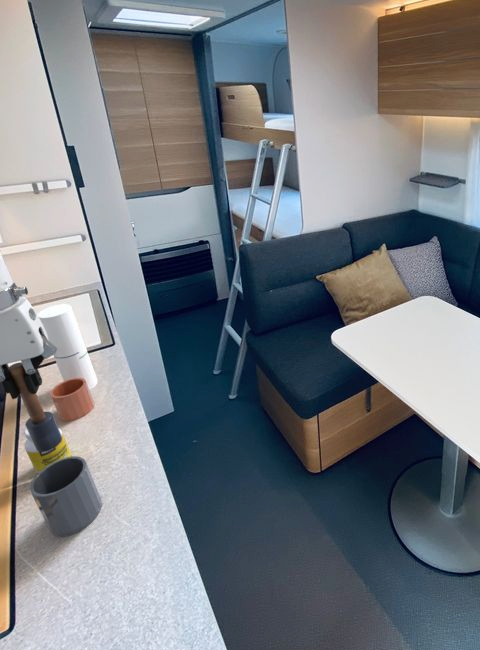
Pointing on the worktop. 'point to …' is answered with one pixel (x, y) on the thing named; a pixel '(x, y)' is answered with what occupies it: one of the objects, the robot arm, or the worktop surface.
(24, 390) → the brush
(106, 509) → the worktop surface
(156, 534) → the worktop surface
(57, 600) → the worktop surface
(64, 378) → the cylindrical container
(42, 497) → the tumbler
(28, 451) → the pill bottle
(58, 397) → the cup
